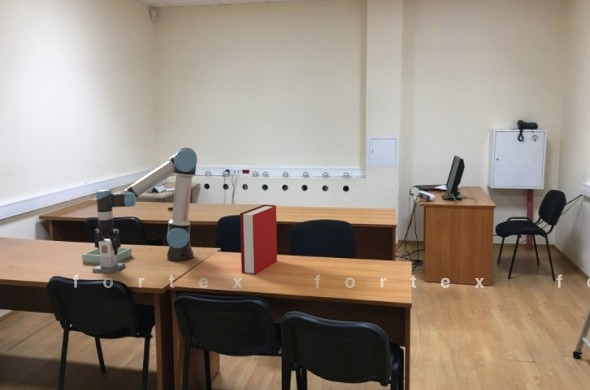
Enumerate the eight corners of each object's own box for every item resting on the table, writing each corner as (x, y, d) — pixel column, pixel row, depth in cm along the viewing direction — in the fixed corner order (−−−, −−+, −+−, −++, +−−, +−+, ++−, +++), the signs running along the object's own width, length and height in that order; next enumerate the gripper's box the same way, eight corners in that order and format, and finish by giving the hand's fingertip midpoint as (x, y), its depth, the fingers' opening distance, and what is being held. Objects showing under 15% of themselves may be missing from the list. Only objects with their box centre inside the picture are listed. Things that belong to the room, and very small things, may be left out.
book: (255, 275, 258) (253, 214, 253) (241, 273, 261) (239, 213, 256) (278, 260, 282) (277, 205, 277) (265, 259, 286) (264, 204, 281)
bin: (131, 256, 295) (131, 248, 294) (113, 265, 277) (113, 256, 276) (102, 254, 299) (101, 246, 299) (82, 263, 282) (82, 254, 281)
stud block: (125, 266, 274) (124, 253, 273) (112, 273, 263) (111, 259, 262) (106, 265, 277) (105, 252, 276) (92, 272, 266) (91, 258, 265)
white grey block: (117, 264, 272) (115, 239, 270) (111, 267, 266) (109, 242, 263) (107, 263, 273) (105, 238, 271) (100, 267, 267) (98, 242, 265)
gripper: (126, 217, 268) (128, 259, 271) (92, 216, 271) (96, 257, 275) (118, 220, 260) (121, 263, 264) (84, 219, 264) (88, 261, 267)
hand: (108, 260), depth 269 cm, fingers closed on white grey block, 6 cm apart
